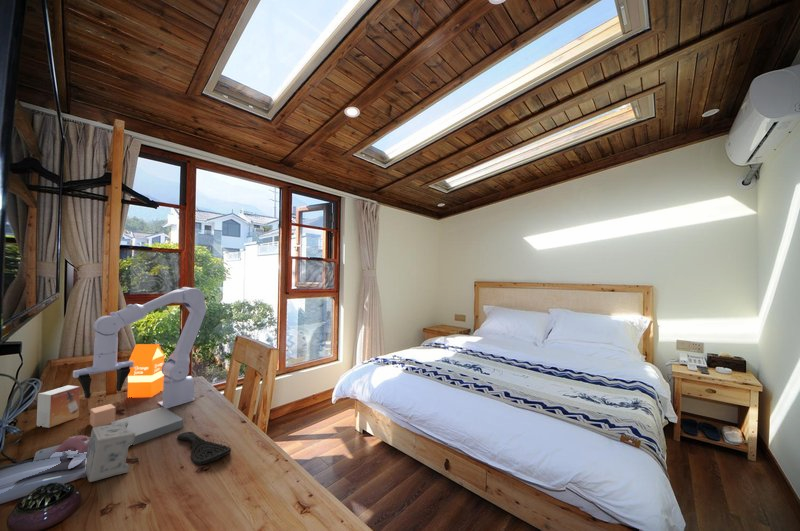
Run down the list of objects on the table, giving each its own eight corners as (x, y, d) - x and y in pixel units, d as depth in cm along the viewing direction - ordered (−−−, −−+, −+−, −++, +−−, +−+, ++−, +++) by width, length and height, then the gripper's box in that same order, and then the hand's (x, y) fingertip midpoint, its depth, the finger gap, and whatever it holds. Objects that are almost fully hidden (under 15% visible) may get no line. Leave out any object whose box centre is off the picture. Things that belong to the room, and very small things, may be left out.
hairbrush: (195, 421, 99) (238, 442, 86) (195, 433, 99) (238, 456, 85) (164, 432, 92) (206, 457, 79) (164, 445, 92) (206, 472, 79)
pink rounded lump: (87, 469, 81) (102, 439, 84) (66, 471, 77) (83, 439, 81) (64, 461, 84) (80, 432, 88) (44, 462, 81) (61, 432, 84)
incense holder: (134, 470, 79) (136, 429, 79) (88, 488, 72) (90, 443, 72) (126, 455, 85) (127, 417, 85) (83, 470, 79) (84, 429, 79)
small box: (48, 428, 98) (49, 395, 98) (35, 426, 99) (36, 393, 99) (79, 416, 106) (80, 386, 106) (67, 415, 107) (68, 384, 107)
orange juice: (141, 390, 130) (142, 342, 130) (163, 389, 131) (165, 342, 131) (126, 397, 122) (128, 346, 122) (151, 397, 123) (152, 346, 123)
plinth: (163, 413, 109) (163, 406, 109) (183, 427, 100) (183, 419, 100) (110, 430, 98) (110, 422, 98) (127, 447, 89) (127, 438, 89)
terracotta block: (110, 418, 105) (110, 403, 106) (115, 422, 103) (115, 407, 103) (90, 424, 101) (90, 409, 101) (94, 428, 99) (94, 413, 99)
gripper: (129, 346, 111) (127, 385, 110) (71, 354, 99) (68, 398, 98) (136, 349, 107) (134, 389, 107) (77, 358, 95) (74, 403, 94)
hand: (103, 394), depth 102 cm, fingers open, 7 cm apart
